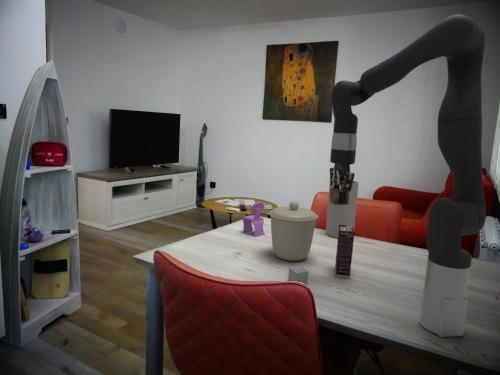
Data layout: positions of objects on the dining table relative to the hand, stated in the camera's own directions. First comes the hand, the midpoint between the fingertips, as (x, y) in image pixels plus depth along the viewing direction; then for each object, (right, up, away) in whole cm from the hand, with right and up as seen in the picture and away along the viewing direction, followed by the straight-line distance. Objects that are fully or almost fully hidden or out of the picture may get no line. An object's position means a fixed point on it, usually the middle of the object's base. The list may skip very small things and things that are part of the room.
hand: (338, 201), depth 115 cm
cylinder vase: (+13, -18, +52) cm, 56 cm away
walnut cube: (0, 0, 0) cm, 0 cm away
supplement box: (+3, -25, +8) cm, 26 cm away
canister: (-13, -22, +22) cm, 33 cm away
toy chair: (-27, -16, +49) cm, 58 cm away
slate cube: (-13, -25, -1) cm, 29 cm away
